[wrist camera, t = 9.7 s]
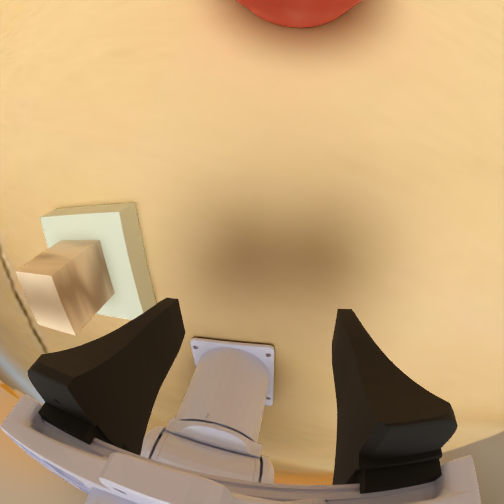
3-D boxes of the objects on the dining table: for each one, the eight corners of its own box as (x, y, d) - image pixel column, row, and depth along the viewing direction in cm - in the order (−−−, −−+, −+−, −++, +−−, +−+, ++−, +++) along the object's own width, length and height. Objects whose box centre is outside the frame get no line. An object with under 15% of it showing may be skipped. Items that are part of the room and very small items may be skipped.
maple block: (114, 293, 23) (75, 335, 17) (76, 288, 24) (38, 324, 18) (99, 239, 21) (51, 275, 15) (61, 240, 21) (15, 271, 16)
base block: (159, 303, 26) (146, 322, 23) (84, 293, 28) (69, 308, 25) (138, 200, 22) (119, 211, 19) (60, 207, 24) (40, 217, 21)
